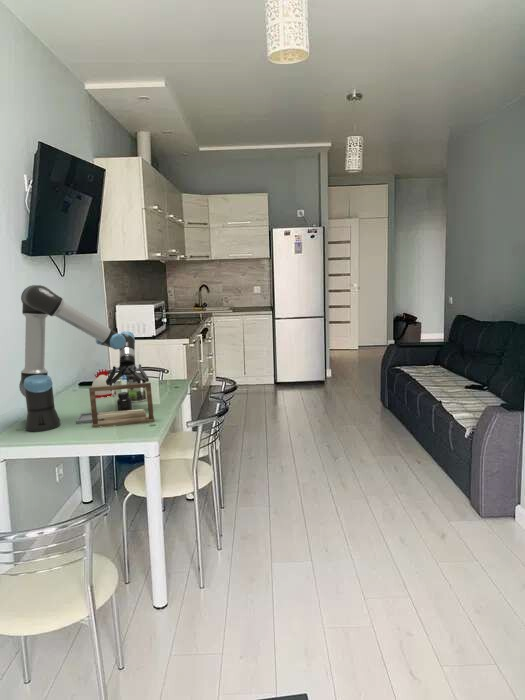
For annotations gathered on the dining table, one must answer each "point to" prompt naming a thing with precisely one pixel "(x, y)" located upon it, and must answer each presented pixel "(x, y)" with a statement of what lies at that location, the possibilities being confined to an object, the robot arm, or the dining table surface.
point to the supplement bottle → (124, 402)
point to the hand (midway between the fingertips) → (127, 394)
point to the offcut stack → (121, 416)
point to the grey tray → (86, 418)
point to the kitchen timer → (101, 384)
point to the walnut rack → (116, 387)
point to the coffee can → (136, 389)
